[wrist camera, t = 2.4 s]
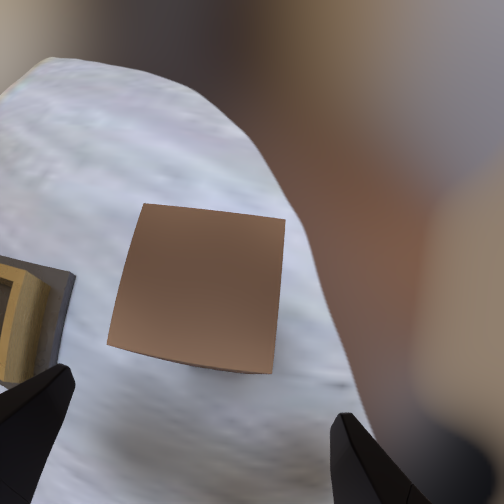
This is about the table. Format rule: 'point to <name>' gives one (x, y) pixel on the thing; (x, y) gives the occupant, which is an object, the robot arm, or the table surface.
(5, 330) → the gold square frame
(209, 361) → the rail post
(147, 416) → the table surface
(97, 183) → the table surface
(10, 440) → the robot arm
